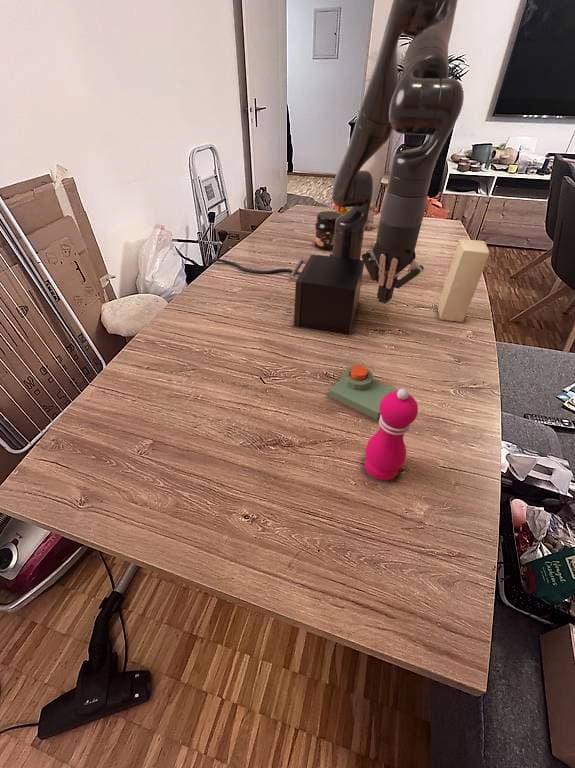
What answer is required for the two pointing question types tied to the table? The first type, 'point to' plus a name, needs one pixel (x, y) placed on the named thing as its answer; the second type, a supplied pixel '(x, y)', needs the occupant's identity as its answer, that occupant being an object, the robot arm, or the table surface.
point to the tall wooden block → (462, 279)
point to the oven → (331, 294)
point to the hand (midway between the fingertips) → (383, 301)
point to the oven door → (299, 285)
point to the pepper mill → (390, 435)
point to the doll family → (370, 216)
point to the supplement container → (325, 229)
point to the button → (358, 373)
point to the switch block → (360, 393)
